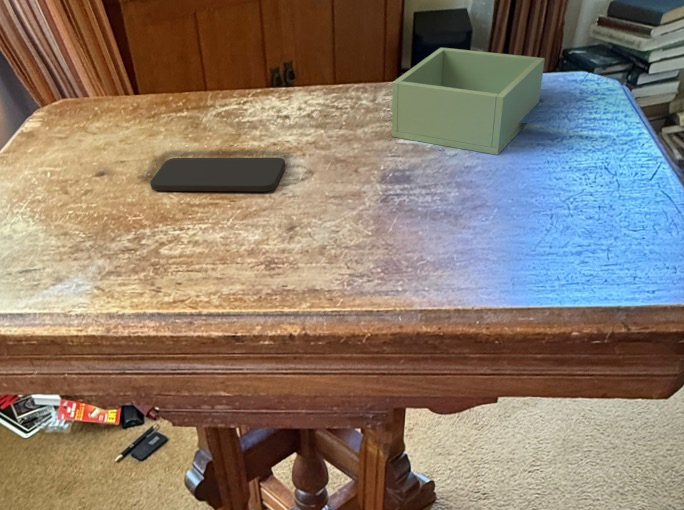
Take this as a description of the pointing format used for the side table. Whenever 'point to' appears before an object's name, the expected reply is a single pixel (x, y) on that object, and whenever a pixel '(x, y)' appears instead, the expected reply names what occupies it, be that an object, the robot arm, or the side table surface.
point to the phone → (218, 174)
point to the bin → (466, 99)
